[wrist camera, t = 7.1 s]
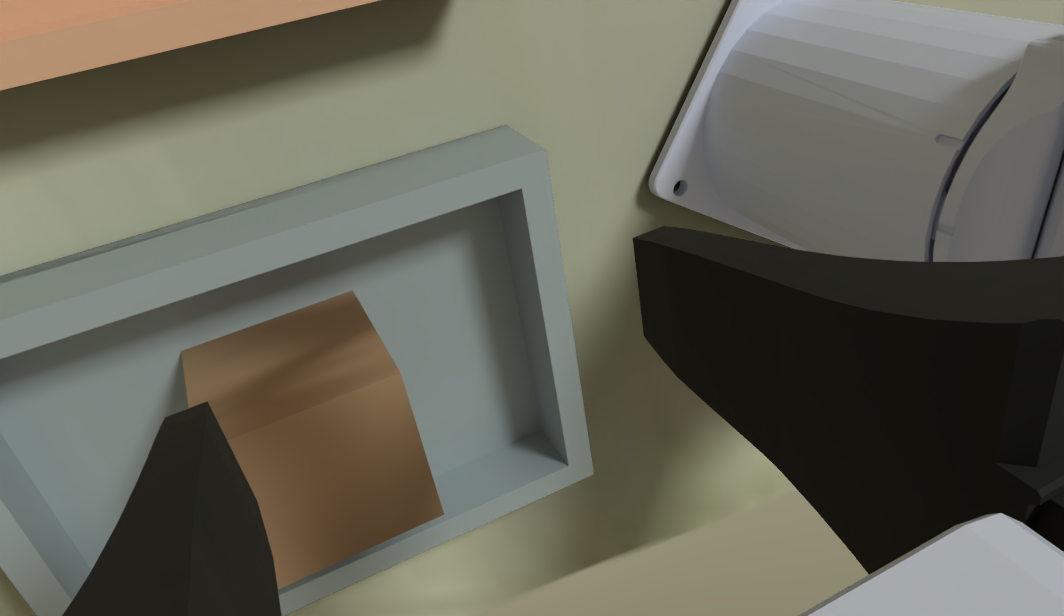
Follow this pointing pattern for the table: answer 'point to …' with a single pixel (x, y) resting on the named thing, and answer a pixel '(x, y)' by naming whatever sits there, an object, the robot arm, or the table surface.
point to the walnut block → (317, 432)
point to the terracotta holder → (127, 30)
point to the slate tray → (282, 287)
